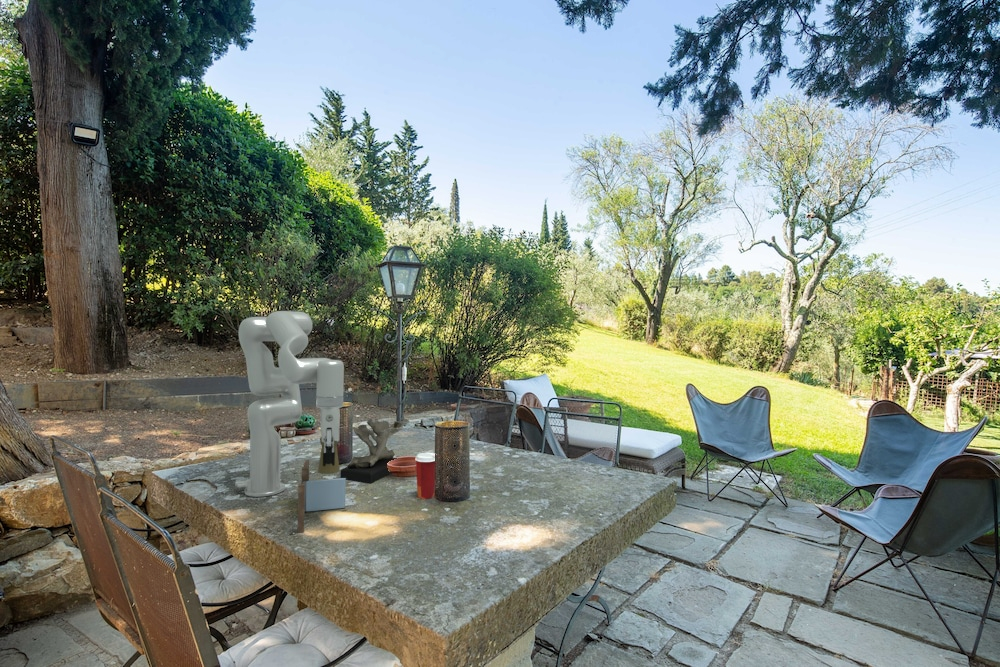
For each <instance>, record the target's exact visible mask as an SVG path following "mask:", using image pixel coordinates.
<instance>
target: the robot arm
mask: <svg viewBox="0 0 1000 667" xmlns="http://www.w3.org/2000/svg"><path fill="white" fill-rule="evenodd" d="M312 331H313V320H312V319H311V316H310V315H309V314H307V313H306V312H303V311H293V310H277V311H273V312H271V313H270V314H268V315H267V316H250V317H246V318H245V319H243V320H242V321H241V323H240V324H239V328H238V341H239V345H240V347H241V349H242V352H243V354H244V356H245V362H246V363H245V364H246V371H247V372H246V373H247V379H248V380H247V381H248V387H249V390H250V393H251V394H252V395H255V396H259V397H260V396H271V395H274V396H275V395H280V396H281V397H273V398H264V399H263V398H262V399H258V400H256V401H253V402H252V403H250V404H249V406H248V408H247V411H246V412H247V413H246V414H247V421H248V428H249V437H250V438H249V441H250V443H249V445H250V446H249V478H246V479H245V480H236V481H235V483H234V484H235V485H234V486H235V487H236V488H238V489H240V488H244V494H245V496H248V497H255V498H256V497H257V498H259V497H260V498H261V497H269V496H273V495H276V494H280V493H282V492H283V491H284V490H286V483H285V484H284V483H283V482H281V466H282V465H281V461H282V460H281V459H282V458H281V456H282V449H281V448H282V439H281V438H282V437H281V436H280V434H279V433H278V432H277V430H276V429H275V427H277V426H283V425H289V424H290V425H291V424H294V423H297V422H298V421H299V420H300V419H301V417H302V414H303V407H302V406H303V405H302V398H301V390H300V385H304V384H316V399H315V401H316V403H315V404H316V405H315V407H316V409H320V437H321V439H322V442H323V443H324V452H323V466H324V467H325V465H326V464H332V465H333V466H334V465H335V452H334V440H335V441H337V442H338V443H339V441H340V430H341V429H340V426H341V423H340V421H341V414H340V413H341V412H340V409H341V408H343V407H344V385H345V384H344V380H345V379H344V378H345V377H344V375H345V374H344V373H345V369H344V367H345V365H344V362H343V361H342V360H339V359H331V358H328V357H316V358H315V357H314V358H313V357H308V358H306V357H305V358H297V357H295V356H298V355H299V354H300V353H302V352H303V351H304V350H306V348H307V347H308V345H309V337H308V336H309V335H310V333H311V332H312ZM263 342H276V343H277V344H278V346H279V347H280V348H279V350H278V355H277V364H278V367H276V366H275V362H274V355H273V353H272V351H271V350H270V349H269V348H268V347H267V346H266V344H264V343H263ZM331 433H332V434H331ZM331 439H333V441H331ZM326 440H327V442H326ZM326 444H327V445H326ZM331 444H332V445H331Z"/></svg>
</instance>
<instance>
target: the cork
mask: <svg viewBox="0 0 1000 667" xmlns="http://www.w3.org/2000/svg"><path fill="white" fill-rule="evenodd" d="M331 434H332V433H331ZM331 441H333V439H331ZM326 442H327V440H326ZM319 443H320V445H321V450H320V456H319V462H318V469H317V473H318V474H321V475H331V474H336V473H339V472H340V471H341V469H340V463H339V455H338V446H337V444H338V443H339V441H338V442H337V441H335V440H334V452H335V465H334V466H333V465H332V464H326V465H325V467H324V466H323V452H324V443H323V442H322V439H321V436H320V438H319ZM326 445H327V444H326ZM331 445H332V444H331Z"/></svg>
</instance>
